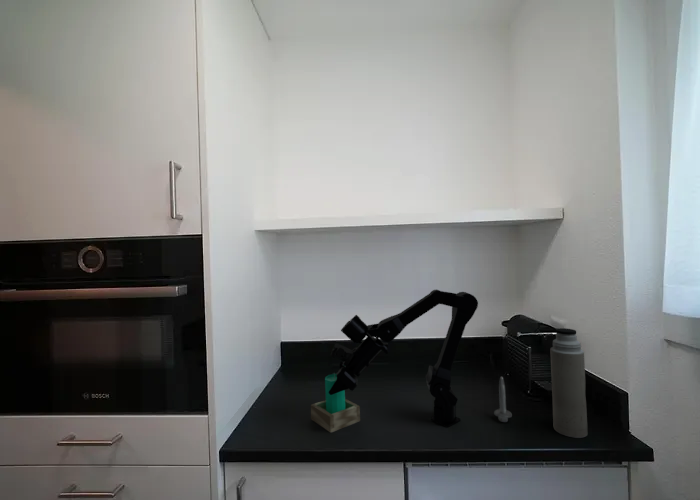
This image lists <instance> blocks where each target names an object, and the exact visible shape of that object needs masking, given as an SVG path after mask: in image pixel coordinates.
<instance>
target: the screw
mask: <svg viewBox="0 0 700 500" xmlns="http://www.w3.org/2000/svg"><path fill="white" fill-rule="evenodd" d="M498 383H499V384H498V392H499V393H498V396H499V397H498V400H499V401H498V402H499V405H498V406H499V407H498V409H495V410H494V411H493V414H494V415H495V416H496V417H497V420H498V421H499V422H502V423H508V421H509V419H510V418H512V416H513V414H512V412H511V411H510V410H507V401H506V400H507V397H506V396H507V395H506V384H505V380H504V377H503V376H500V377H499V382H498Z"/></svg>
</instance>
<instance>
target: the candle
mask: <svg viewBox="0 0 700 500" xmlns="http://www.w3.org/2000/svg"><path fill="white" fill-rule="evenodd" d="M336 375H337V373H335V371H334V372H333V373H332V374H328V375H327V376H325V377H324V389H325V390H324V391H325V400H326V411H327V412H329V413H330V414H333V413H336V412H339V411H342V410H344V409H345V399H346V392H345V391H346V390H343V391H340V392H338V393H335V394H332V395H330V394H329V391H330V389H331V387H332V386H333V384H334V383H335V381H336V380H337V376H336Z"/></svg>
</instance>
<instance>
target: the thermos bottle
mask: <svg viewBox="0 0 700 500" xmlns="http://www.w3.org/2000/svg"><path fill="white" fill-rule="evenodd" d="M555 333H556V334H555V339H553V340H552V347H550V350H549V351H550V371H551V373H550V374H551V376H550V377H551V392H552V393H551V395H552V419H553V420H552V423H553V429H554V430H555V432H557V433H559V434H560V435H563V436H566V437H570V438H575V439H581V438H582V439H583V438H585V437H587V436H588V417H587V416H588V413H587V412H588V411H587V398H586V366H585V351H584V350H582V344H581V342H580V341H579V340H578V339H577V330H575V329H572V328H564V327H563V328H562V327H561V328H555Z"/></svg>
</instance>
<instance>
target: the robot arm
mask: <svg viewBox="0 0 700 500" xmlns="http://www.w3.org/2000/svg"><path fill="white" fill-rule="evenodd" d="M439 305H444V306H447V307H450V308H451V321H450V323H449V326H448V329H447V332H446V335H445V339H444V341H443V344H442V347H441V350H440V353H439V355H438V360H437V362H436V363H435V364H434V365H433V366H432V365H431V364H430V365H428V371H427V372H426V374H425V376H424V377H425V379H426V382H425V383H426V385H427V388H428V390H429V392H430V394H431V395H432V397H433V398H434V400H433V416H432V417H430V421H432V422H434V423H437V424H440V425H442V426H443V427H444V426H445V427H447V428H450V427H452V426H453V425H455V424H457V423H459V422H461V421H462V420H461V418H459V417H457V406H456V405H457V403H458V397H457V396H456V394H455V392H454V390H453V389H452V386H451V383H452V382H451V381H452V366H453V365H454V361H455V359H456V356H457V352H458V350H459V347H460V343H461V341H462V338H463V334H464V332H465V328H466V325H467V324H468V323H469V321H470V320H471V319H472V318H473V316H474V315H475V312H476V311H477V309H478V308H479V306H478V305H479V301H478V299H477V298H476V297H475V296H474V295H473V294H471V293H468V292H466V291H459V292H457V293H454V292H450V291H443V290H439V289H432V290H431V291H430V293H428V294H427V295H425V296H424V297H422V298H421V299H419V300H418V301H416V302H414V303H413V304H411V305H409V307H407V308H406V309H404V310H402V311H401V312H399V313H396V314H394V315H391V316H388V317H386V318H383V319H381V320H380V321H379V322H377V323H372V324H368V325H367V324H366V323H365V322H364V321H363V320H362V319H361V317H360V316H358V315H357V314H355V315H354V316H353V317H352V318H350V320H348V321H347V322H346V323H345V325H343V327H342V328H341V329H340V332H342V334H344V335H345V336H346V337H347V338H348V339H349V340H350V341H351V342H352V343H353V344H355V343H356V344H359V345H358V346H357V347H354V348H353V349H350V348H348V347H346V345H345V346H344V345H341V344H340V343H338V342H337V343H335V344H334V345H333V348H332V350H331V353H330V357H332V358H334V359H338V360H340V362H339V370H337V372H336V374H337V375H336V376H337V380H336V381H335V383H334V384H333V386H332V387H331V389H330V391H329V394H330V395H332V394H335V393H338V392H340V391H343V390H345V391H346V390H348V389H349V390H350V391H351V392H353V391H354V390H355V389H356V388H357V386H358V377H360V375H361V372H362V371H363V370H364V369H366V368H368V367H369V366H370V362H371V363H372V361H373V360H374V359H375V357H376V356H377V355H378V354H379V353H380V352H381V351H382V352H383V353H384V354H385V355H386V354H388V352H389V350H388V347H389V343H390V342H392V341H393V340H395V339H396V338H397V337H398V336H400V334H401V333H402V332H403V330H404V329H405V328H406V327H407V326H408V325H409V324H411V323H413V322H414V321H416V320H417V319H418V318H420V317H421V316H423V315H425V314H427V313H428V312H429V311H430V310H432V309H433V308H435V307H436V306H439Z"/></svg>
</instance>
